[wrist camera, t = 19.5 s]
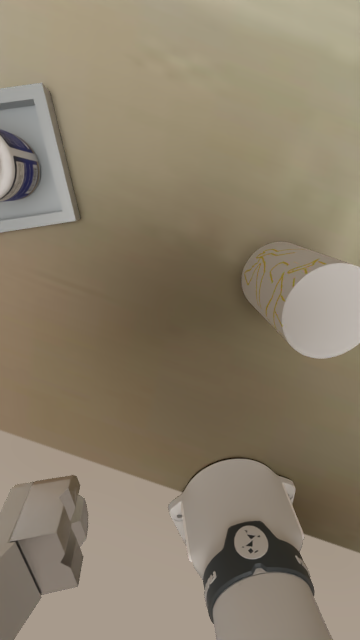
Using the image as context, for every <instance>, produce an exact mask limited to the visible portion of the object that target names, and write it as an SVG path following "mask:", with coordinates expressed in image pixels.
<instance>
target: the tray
mask: <svg viewBox="0 0 360 640" xmlns="http://www.w3.org/2000/svg"><path fill="white" fill-rule="evenodd" d="M0 129H1V130H4V131H7V132H9V133H12V134H14V135H16V136H18V137H20V138H21V139H23V140H24V141H25V142H26V143H27V144H28V145H29V146H30V147H31V148H32V150H33V151H34V153H35V154H36V156H37V159H38V162H39V165H40V179H39V183H38V185H37V187H36V189H35V190H34V191H33V192H32V193H31V194H30V195H29V196H27V197H26V198H23V199H20V200H14V201H3V202H0V232H7V231H13V230H20V229H26V228H33V227H39V226H46V225H52V224H59V223H65V222H72V221H77V220H79V219H81V218H80V214H79V210H78V205H77V201H76V197H75V193H74V189H73V185H72V181H71V176H70V172H69V168H68V164H67V160H66V156H65V152H64V147H63V143H62V139H61V135H60V131H59V127H58V123H57V118H56V114H55V110H54V106H53V102H52V98H51V94H50V91H49V90H48V89H47V88H46V87H45V86H44V85H43V84H42V83H37V84H30V85H23V86H15V87H8V88H1V89H0Z"/></svg>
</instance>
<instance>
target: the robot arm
mask: <svg viewBox="0 0 360 640" xmlns="http://www.w3.org/2000/svg"><path fill="white" fill-rule="evenodd" d="M79 489H80V484H79V481H78V479H77V476H74V475H71V476H65V477H59V478H52V479H46V480H40V481H35V482H30V483H24V484H17V485H15V486H14V487H13V488H12V489H11V490H10V492H9V495H8V497H7V499H6V501H5V503H4V506H3V508H2V510H1V512H0V640H14V639H15V637H16V636H17V634H18V633H19V631H20V630H21V628H22V626H23V625H24V623H25V622H26V620H27V619H28V617H29V616H30V614H31V613H32V611H33V610H34V608H35V607H36V605H37V604H38V602H39V600H40V599H41V595H44V594H48V593H52V592H57V591H61V590H65V589H70V588H74V587H78V584H79V578H80V572H81V566H82V561H83V556H82V552H81V550H80V546H81V545H82V544H83V542H84V541H85V540H86V537H87V531H88V511H87V505H86V502H85V499H84V498H83V497H82V496H80V495H78V493H79ZM295 491H296V489H295V486H294V483H293V481H291V480H290V479H287V478H284V477H281V476H278V475H276V474H275V473H274V472H273V471H272V470H271V469H270V468H268V467H267V466H265V465H264V464H262V463H259V462H257V461H253V460H249V459H230V460H225V461H221V462H218V463H215V464H212V465H210V466H208V467H206V468H205V469H203V470H202V471H200V472H199V473H198V474H197V475H196V476H195V477H194V478H193V479H192V480H191V481H190V482H189V484H188V485H187V487H186V489H185V490H184V492H183V493H182V494H181V495H180V496H178V497H177V498H175V499H174V500H173V501H172V502H171V503H170V504H169V506H168V509H169V514H170V516H171V518H172V520H173V522H174V524H175V526H176V528H177V530H178V531H179V533H180V535H181V537H182V539H183V541H184V543H185V545H186V547H187V554H188V559H189V561H190V562H192V563H193V566H194V568H195V569H196V571H197V572H198V574H199V575H200V577H201V578H202V580H203V583H204V590H205V591H204V594H205V601H206V606H207V608H208V613H209V616H210V619H211V621H212V622H213V624H214V627H215V633H216V639H217V640H333V639H332V637H331V635H330V633H329V631H328V629H327V626H326V624H325V622H324V620H323V617H322V615H321V613H320V611H319V608H318V606H317V603H316V601H315V599H314V587H313V584H312V582H311V579H310V574H309V571H308V569H307V567H306V565H305V563H304V562H303V559H302V557H301V555H300V553H299V552H300V550H301V547H302V541H303V540H304V534H303V531H302V528H301V526H300V523H299V521H298V518H297V516H296V513H295V511H294V508H293V506H292V504H293V499H294V495H295Z"/></svg>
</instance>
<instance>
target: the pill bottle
mask: <svg viewBox="0 0 360 640" xmlns="http://www.w3.org/2000/svg"><path fill="white" fill-rule="evenodd" d="M39 179H40V165H39V162H38V159H37V156H36V154H35V153H34V151H33V150H32V148H31V147H30V146H29V145H28V144H27V143H26V142H25V141H24V140H23V139H21V138H20V137H18V136H16V135H14V134H12V133H9V132H7V131H4V130H1V129H0V202H3V201H14V200H20V199H23V198H26V197H27V196H29V195H30V194H31V193H32V192H33V191H34V190H35V189H36V187H37V185H38V183H39Z"/></svg>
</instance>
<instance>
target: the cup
mask: <svg viewBox="0 0 360 640" xmlns="http://www.w3.org/2000/svg"><path fill="white" fill-rule="evenodd" d="M241 282H242V289H243V292H244V295H245V297H246V298H247V300H248V301H249V302H250V303H251V304H252V305H253V306H254V307H255V309H256V310H257V311H258V312H259V313H260V314H261V315H262V316H263V317H264V318H265V319H266V320H267V321H268V322H269V323H270V324H271V325H272V326H273V327H274V329H275V330H276V331H277V332H278V333H279V334H280V335H281V336H282V337H283V338H284V339H285V340H286V341H287V342H288V343H289V344H290V345H291V346H292V347H293V348H294V349H295V350H296V351H297V352H299V353H301V354H303V355H305V356H308V357H312V358H331V357H335V356H338V355H341V354H343V353H345V352H347V351H349V350H351V349H352V348H354V347H355V346H356V345H358V344H359V343H360V267H358V266H355V265H352V264H350V263H347V262H344V261H341V260H338V259H335V258H332V257H329V256H326V255H323V254H321V253H318V252H315V251H312V250H309V249H306V248H303V247H300V246H297V245H295V244H292V243H288V242H273V243H269V244H267V245H264V246H263V247H261V248H259V249H258V250H257V251H255V252H254V253H253V254H252V255H251V257H250V258H249V259H248V261H247V262H246V264H245V267H244V269H243V273H242V280H241Z"/></svg>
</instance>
